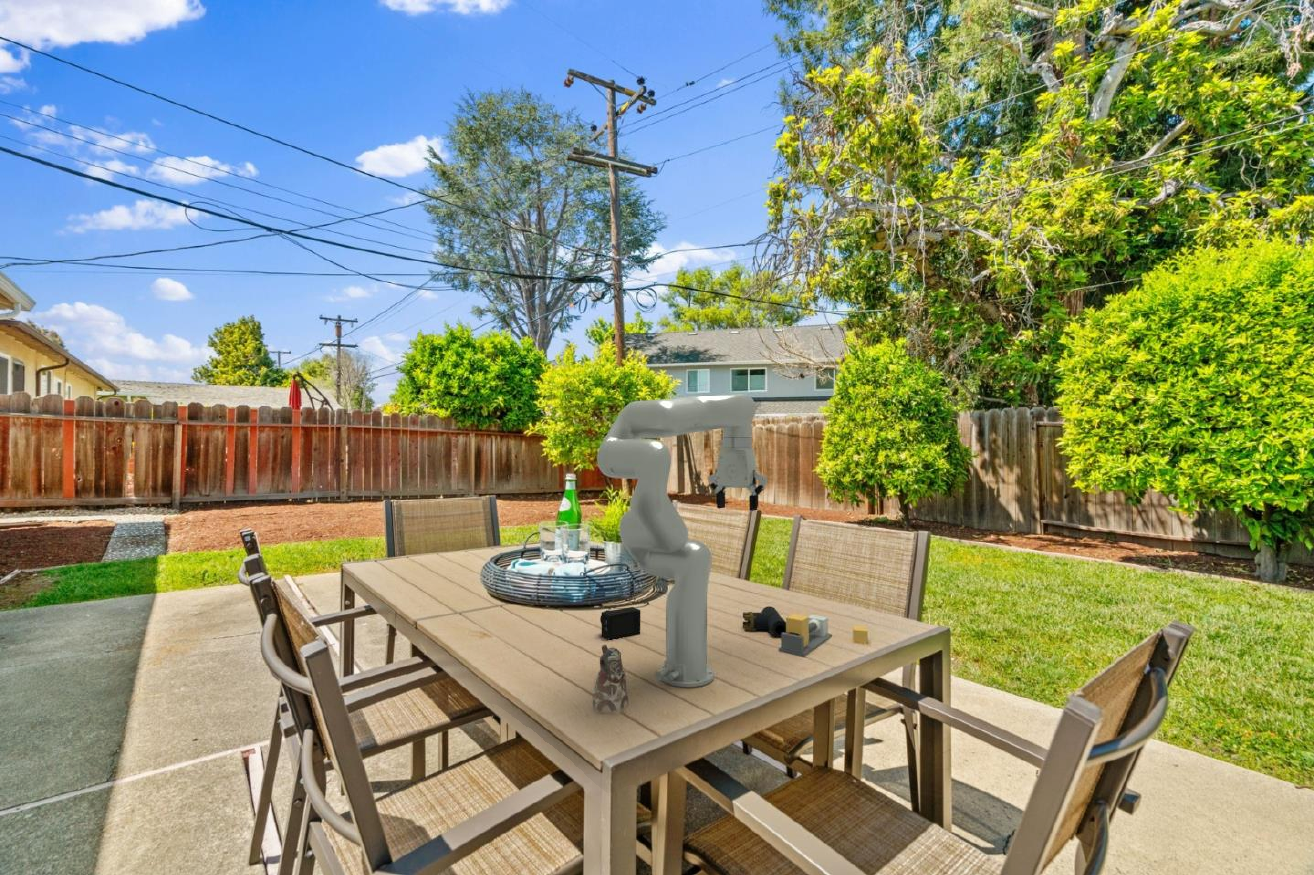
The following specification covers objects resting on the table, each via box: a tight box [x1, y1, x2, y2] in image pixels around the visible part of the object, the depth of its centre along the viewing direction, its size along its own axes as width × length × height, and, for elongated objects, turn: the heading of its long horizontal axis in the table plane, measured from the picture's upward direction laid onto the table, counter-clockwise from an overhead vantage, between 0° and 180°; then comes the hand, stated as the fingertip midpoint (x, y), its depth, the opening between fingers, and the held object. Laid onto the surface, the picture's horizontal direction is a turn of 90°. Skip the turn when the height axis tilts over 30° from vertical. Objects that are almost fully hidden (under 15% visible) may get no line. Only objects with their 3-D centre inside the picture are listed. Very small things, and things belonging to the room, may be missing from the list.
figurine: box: [592, 644, 630, 715], centre depth 119 cm, size 7×7×12 cm
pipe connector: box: [742, 605, 786, 639], centre depth 170 cm, size 12×5×15 cm
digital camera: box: [599, 606, 641, 641], centre depth 165 cm, size 10×5×7 cm, turn 124°
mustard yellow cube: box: [852, 625, 869, 644], centre depth 160 cm, size 4×4×4 cm
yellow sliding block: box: [785, 613, 809, 647], centre depth 153 cm, size 4×4×7 cm
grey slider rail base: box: [778, 614, 833, 658], centre depth 158 cm, size 20×7×5 cm, turn 143°
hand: (737, 509), depth 154 cm, fingers open, 9 cm apart
